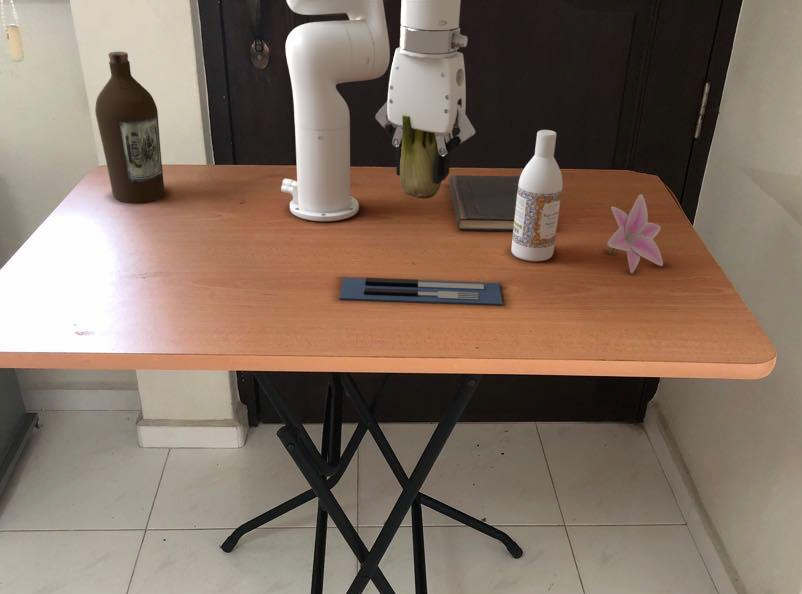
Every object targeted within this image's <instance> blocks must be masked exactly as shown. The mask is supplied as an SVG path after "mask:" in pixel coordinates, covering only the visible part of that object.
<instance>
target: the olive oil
mask: <svg viewBox="0 0 802 594" xmlns="http://www.w3.org/2000/svg"><path fill="white" fill-rule="evenodd" d="M108 59H109V62H108V64H109V70H110V78H109V79H108V81H107V82H106V83H105V84H104V86H103V88H101V91H100V92H99V93H98V95H97V97H96V100H95V109H94V110H95V111H94V113H95V117H96V123H97V126H98V132H99V135H100V140H101V144H102V149H103V153H104V158H105V163H106V167H107V172H108V177H109V182H110V187H111V192H112V196H113V198H114V200H117V201H120V202H122V203H128V204H129V203H130V204H139V203H148V202H153V201H155V200H158V199H160V198H162V197H163V196H164V195H165V183H164V182H165V181H164V173H163V171H164V170H163V163H162V162H163V161H162V151H161V149H162V148H161V139H160V127H159V126H160V125H159V113H158V107H157V104H156V102H155V100H154V98H153V96H152V94H151V93H150V91H148V90H147V89H146V88H145V87H144V86H143V85H141V83H140V82H138V80H136V79H135V78H134V77H133V75H132V71H131V63H130V61H129V54H128V52H126V51H111V52H109V53H108Z"/></svg>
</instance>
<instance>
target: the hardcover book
mask: <svg viewBox="0 0 802 594" xmlns="http://www.w3.org/2000/svg"><path fill="white" fill-rule="evenodd" d="M520 176H521V175H519V176H517V175H516V176H515V175H507V176H506V175H469V174H468V175H467V174H466V175H465V174H463V175H461V174H459V175H458V174H452V175H450V176H449V178H448V186H449V190H450V191H449V192H450V195H451V200H452V206H453V210H454V215H455V219H456V225H457V228H458V230H459V231H461V232H512V233H513V228H514V219H515V210H516V201H517V192H518V184H519V179H520Z"/></svg>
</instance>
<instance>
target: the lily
mask: <svg viewBox="0 0 802 594" xmlns="http://www.w3.org/2000/svg"><path fill="white" fill-rule="evenodd" d="M610 209H611V212H612V214H613V217H614V219H615V221H616V223H617V226H618V228H617V230H616V231H615V232H614V233H613V234H612V236H610V238H609V239H608V241H607V246H608V247H610V248H611V249H610V251H609V252H608V254H612V252H613V251H614V250H615V249H617V250H621V251H625V252H626V257H627V263H628V267H629V272H630V274H633V273H634V272H635V270H636V268H637V267H638V265H639V263H640V260H641V257H642V258H644V259H646V260H648V261H650V262H652V263H653V264H655V265H657V266H660V267H663V265H664V262H663V257H662V254H661V251H660V249H659V247H658V245H657V242H655V240H654V239H655V237H656V236H657V235H658V234H659V233H660V231H661V228H662V227H661V225H659V224H657V223H654V222H650V221H648V219H649V215H648V214H649V213H648V207H647V203H646V199H645V198H644V195H643V194H642V193H640V194H639V195H638V196H637V198H636V200H635V202H634V204H633V206H632V208H631V209H630V211H629V213H628V214H627V213H626V212H625V211H624V210H622V209H620V208H618V207H616V206H611V207H610Z"/></svg>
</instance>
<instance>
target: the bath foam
mask: <svg viewBox="0 0 802 594" xmlns="http://www.w3.org/2000/svg"><path fill="white" fill-rule="evenodd" d="M556 141H557V132H556V131H554V130H551V129H540V130H538V131H537V133H536V140H535V149H534V155H533V156H532V157H531V159H530V160H529V161H528V163H526V165H525V167H524V168H523V170H522V172H521V173H520V175H519V176H520V179H519V184H518V192H517V201H516V210H515V219H514V228H513V232H512V237H511V238H512V239H511V248H510V249H511V254H512V255H513V256H514V257H515V258H517V259H519V260H523V261H526V262H543V261H547V260H550V259H551V258H552V257H553V255H554V251H555V245H556V238H557V230H558V223H559V215H560V208H561V202H562V196H563V195H562V194H563V182H564V181H563V175H562V172H561V169H560V166H559V164H558V162H557V161H556V158H555V149H556Z"/></svg>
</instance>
